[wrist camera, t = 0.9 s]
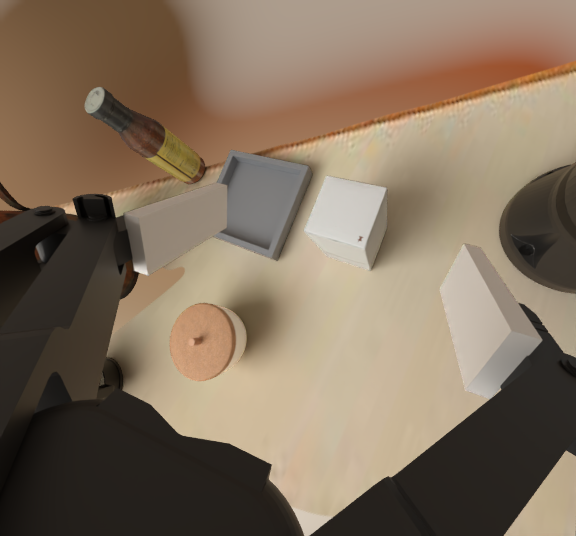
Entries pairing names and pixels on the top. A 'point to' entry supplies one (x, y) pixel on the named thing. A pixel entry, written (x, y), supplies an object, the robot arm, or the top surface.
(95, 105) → the sauce bottle
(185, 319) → the lidded jar
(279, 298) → the top surface
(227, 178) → the tray
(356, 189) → the supplement box
